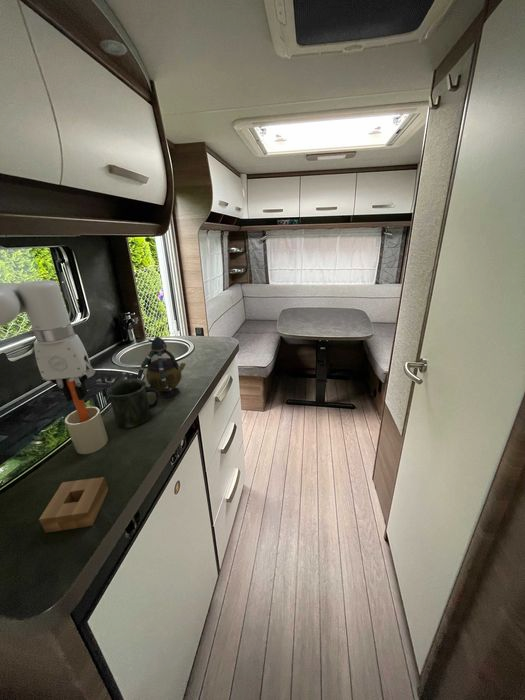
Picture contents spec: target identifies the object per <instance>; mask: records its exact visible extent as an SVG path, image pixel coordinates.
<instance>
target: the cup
mask: <svg viewBox="0 0 525 700" xmlns="http://www.w3.org/2000/svg"><path fill="white" fill-rule="evenodd" d="M86 409H87V412H88V415H89V418H90V419H89V420H87V421H85V422H81V421H80V418H79V416H78V413H77V410H76V409H75V410H74V411H72V412H70V413H69V414H67V416H66V417H65V419H64V423H65V426H66V429H67V431H68V434H69V437H70V439H71V442H72V445H73V447H74V450H75V451H76V453H77V454H79V455H88V454H89V455H90V454H93V453H95V452H98V451H99V450H102V449H103V448H104V447H105V446H106V445H107V443H108V442H109V436H108V433H107V429H106V426H105V423H104V419H103V416H102V413H101V410H100V408H98V407H97V406H86Z"/></svg>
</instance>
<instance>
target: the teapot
mask: <svg viewBox="0 0 525 700" xmlns="http://www.w3.org/2000/svg"><path fill="white" fill-rule="evenodd" d="M147 341H149V342H150V343H151V345H150V347H151V348H150V349H151V350H150V351H149V353H148V355H147V356H146V357H145V358H144V359H143V361H142V363H141V365H140V367H139V369H138V373H137V377H136V379H141V380H143V379H142V377H143V374H144V371H145V368H146V367H147V368H146V375H145V377H146V381H147V383H148V385H149V386H147V385H146V386H145V389H147V388H155V389H157V390H158V392H159V401H158V402H169V401H173V400H175V399H177V398H178V397H179V396H180V395H181V389H180V388H178V387H177V386H178V385H179V384H180V382H181V380H182V372H183V371H184V369H185V367H186V363H185V362H181V363H180V365H179V363H178V362H177V359H176V358H175V356H174V355H173V354H172V353H171V351H169V350H167V349H168V346H167V344H166V342H165V340H164V339H162V338H161V337H159V336H156V337H154V338H153V340H152V339H147ZM164 354H166V355H167V356H168V357H163V356H162V355H164ZM155 355H156V356H157V359H155V360H153V361H152V358H153V357H154V356H155ZM154 394H155V395H154V398H155V400H156V399H157V395H156V393H154ZM176 397H177V398H176ZM174 398H175V399H174ZM168 400H169V401H168Z"/></svg>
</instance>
